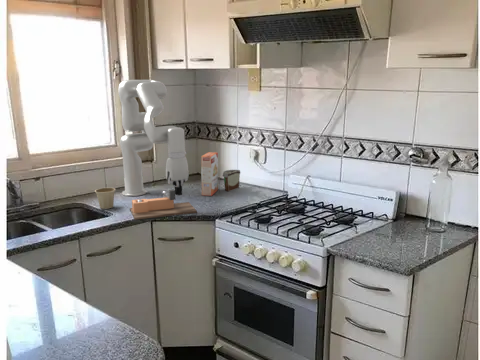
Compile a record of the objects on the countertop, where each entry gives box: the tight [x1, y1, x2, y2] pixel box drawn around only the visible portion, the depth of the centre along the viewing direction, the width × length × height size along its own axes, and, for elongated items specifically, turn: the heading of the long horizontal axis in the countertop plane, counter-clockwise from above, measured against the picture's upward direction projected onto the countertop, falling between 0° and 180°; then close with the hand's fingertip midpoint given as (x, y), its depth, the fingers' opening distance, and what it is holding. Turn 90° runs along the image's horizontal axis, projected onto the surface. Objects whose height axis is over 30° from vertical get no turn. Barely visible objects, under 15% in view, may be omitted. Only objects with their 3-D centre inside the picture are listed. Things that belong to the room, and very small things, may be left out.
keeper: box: [162, 189, 176, 201], centre depth 218 cm, size 13×3×4 cm, turn 25°
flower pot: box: [94, 187, 116, 210], centre depth 224 cm, size 9×9×9 cm
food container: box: [222, 169, 241, 192], centre depth 256 cm, size 12×6×10 cm, turn 144°
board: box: [129, 201, 198, 221], centre depth 217 cm, size 16×28×1 cm, turn 110°
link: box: [131, 197, 175, 213], centre depth 217 cm, size 18×6×4 cm, turn 110°
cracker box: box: [200, 151, 219, 197], centre depth 248 cm, size 14×6×21 cm, turn 168°
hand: (178, 194), depth 216 cm, fingers closed
